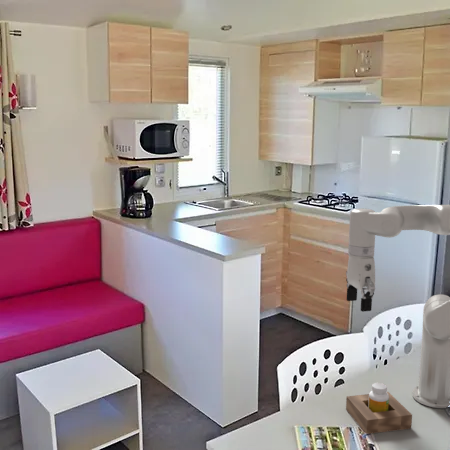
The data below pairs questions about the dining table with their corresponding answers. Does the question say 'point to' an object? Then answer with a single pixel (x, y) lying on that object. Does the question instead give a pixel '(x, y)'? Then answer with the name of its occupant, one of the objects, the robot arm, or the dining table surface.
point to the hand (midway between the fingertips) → (358, 305)
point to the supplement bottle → (378, 398)
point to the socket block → (378, 415)
